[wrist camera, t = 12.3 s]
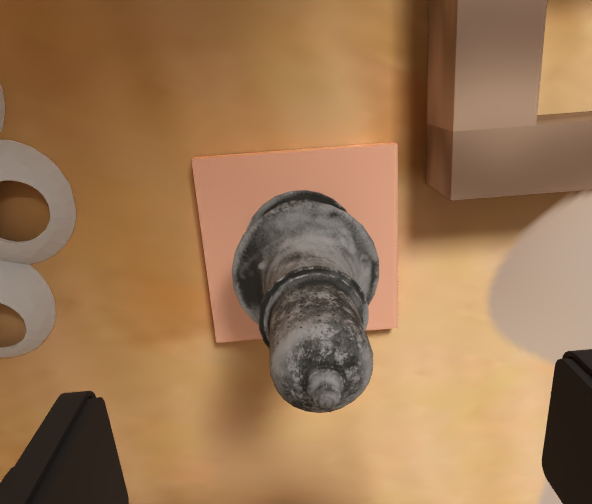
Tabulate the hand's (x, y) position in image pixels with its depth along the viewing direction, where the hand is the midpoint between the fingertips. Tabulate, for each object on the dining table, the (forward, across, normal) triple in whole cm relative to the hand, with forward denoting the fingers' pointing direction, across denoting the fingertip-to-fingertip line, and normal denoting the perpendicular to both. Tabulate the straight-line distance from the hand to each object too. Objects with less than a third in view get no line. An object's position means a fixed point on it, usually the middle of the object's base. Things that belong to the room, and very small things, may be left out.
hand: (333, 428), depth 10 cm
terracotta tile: (+14, 0, +1) cm, 14 cm away
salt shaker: (+14, 0, +1) cm, 14 cm away
